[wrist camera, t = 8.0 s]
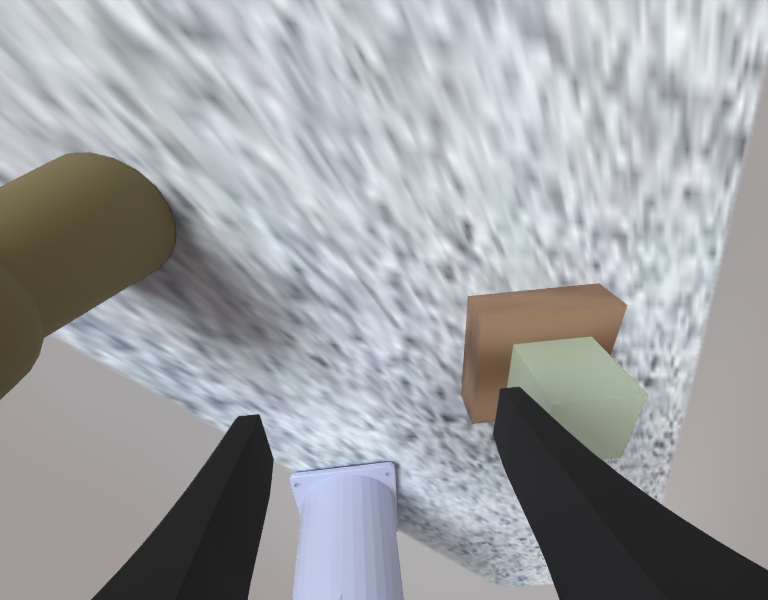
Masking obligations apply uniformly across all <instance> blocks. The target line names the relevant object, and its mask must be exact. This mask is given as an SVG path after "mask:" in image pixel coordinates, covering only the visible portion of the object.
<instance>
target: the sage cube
mask: <svg viewBox="0 0 768 600" xmlns="http://www.w3.org/2000/svg"><path fill="white" fill-rule="evenodd" d="M510 387H521V388H522V389H523V390H524V391H525V392H526V393H527V394H528V395H529V396H530V397H532V398H533V399H534V400H535V401H536V402H537V403H538V404H539V405H540V406H541V407H542V408H543V409H544V410H545V411H546V412H548V413H549V414H550V415H551V416H552V417H553V418H554V419H555V420H556V421H557V422H558V423H560V424H561V425H562V426H563V427H564V428H565V429H566V430H567V431H568V432H570V433H571V434H572V435H573V436H574V437H575V438H576V439H578V440H579V441H580V442H581V443H582V444H583V445H584V446H586V447H587V448H588V449H589V450H590V451H592V452H593V453H594V454H595V455H596V456H598V457H599V458H600V459H601V460H603V459H612V458H621V457H622V454H623V452H624V450H625V447H626V445H627V443H628V440H629V438H630V436H631V433H632V431H633V429H634V426H635V424H636V421H637V419H638V417H639V414H640V412H641V410H642V407H643V405H644V403H645V400H646V398H647V396H648V394H647V393H646V392H645V391H644V390H643V389H642V388H641V387H640V386H639V385H638V384H637V383H636V382H635V381H634V380H633V378H632V377H631V376H630V375H629V374H628V373H627V372H626V371H625V370H624V369H623V368H622V367H621V366H620V365H619V364H618V363H617V362H616V361H615V360H614V359H613V358H612V357H611V356H610V355H609V354H608V353H607V352H606V351H605V350H604V349H603V348H602V347H601V346H600V345H599V343H598V342H597V341H596V340H595V339H594V338H593V337H592V336H591V337H581V338H571V339H561V340H551V341H541V342H532V343H522V344H514V345H513V351H512V358H511V364H510V371H509V377H508V384H507V388H510Z"/></svg>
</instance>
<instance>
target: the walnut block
mask: <svg viewBox="0 0 768 600" xmlns="http://www.w3.org/2000/svg"><path fill="white" fill-rule="evenodd" d="M626 307H627V305H626V304H625V303H624V302H622V301H621V300H620V299H619V298H617V297H616V296H615V295H613V294H612V293H611V292H609V291H608V290H607V289H606V288H604V287H603V286H602V285H600V284H599V283H598V284H588V285H578V286H568V287H558V288H547V289H537V290H527V291H517V292H507V293H497V294H487V295H477V296H468V304H467V318H466V333H465V348H464V362H463V377H462V391H461V396H462V399H463V401H464V404H465V407H466V409H467V412H468V414H469V417H470V420H471V422H472V424H475V423H484V422H492V421H495V418H496V411H497V405H498V398H499V392H500V389H501V388H507V384H508V377H509V371H510V364H511V358H512V351H513V345H514V344H522V343H532V342H541V341H551V340H561V339H571V338H581V337H591V336H592V337H593V338H594V339H595V340H596V341H597V342H598V343H599V345H600V346H601V347H602V348H603V349H604V350H605V351H606V352H607V353H608V354H609V355H611V352H612V349H613V346H614V343H615V340H616V337H617V334H618V331H619V328H620V325H621V322H622V319H623V316H624V313H625V310H626Z"/></svg>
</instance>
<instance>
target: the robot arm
mask: <svg viewBox="0 0 768 600" xmlns="http://www.w3.org/2000/svg"><path fill="white" fill-rule="evenodd" d="M493 436H494V439H495V442H496V445H497V449H498V452H499V455H500V458H501V461H502V464H503V467H504V469H505V471H506V474H507V476H508V478H509V480H510V483H511V485H512V487H513V489H514V491H515V494H516V496H517V498H518V500H519V502H520V505H521V507H522V509H523V511H524V513H525V516H526V518H527V520H528V522H529V524H530V526H531V529H532V531H533V533H534V535H535V537H536V540H537V542H538V544H539V546H540V549H541V551H542V553H543V556H544V558H545V561H546V563H547V566H548V569H549V572H550V574H551V577H552V580H553V583H554V585H555V588H556V591H557V593H558V597H559V599H560V600H768V570H766V569H765V568H763V567H761V566H759V565H758V564H756V563H754V562H753V561H751V560H749V559H747V558H746V557H744V556H742V555H740V554H739V553H737V552H735V551H733V550H732V549H730V548H729V547H727V546H725V545H724V544H722V543H720V542H719V541H717V540H715V539H714V538H712V537H711V536H709V535H708V534H706V533H704V532H703V531H701V530H699V529H698V528H696V527H695V526H693V525H692V524H690V523H689V522H687V521H685V520H684V519H682V518H681V517H679V516H678V515H676V514H675V513H673V512H672V511H670V510H669V509H667V508H666V507H664V506H663V505H661V504H660V503H659V502H657V501H656V500H654V499H653V498H652V497H650V496H649V495H647V494H646V493H645V492H643V491H642V490H640V489H639V488H638V487H636V486H635V485H633V484H632V483H631V482H629V481H628V480H627V479H625V478H624V477H623V476H621V475H620V474H619V473H617V472H616V471H615V470H614V469H612V468H611V467H610V466H609V465H607V464H606V463H605V462H604V461H602V460H601V459H600V458H599V457H598V456H596V455H595V454H594V453H593V452H592V451H590V450H589V449H588V448H587V447H586V446H584V445H583V444H582V443H581V442H580V441H579V440H578V439H576V438H575V437H574V436H573V435H572V434H571V433H570V432H568V431H567V430H566V429H565V428H564V427H563V426H562V425H561V424H560V423H558V422H557V421H556V420H555V419H554V418H553V417H552V416H551V415H550V414H549V413H548V412H546V411H545V410H544V409H543V408H542V407H541V406H540V405H539V404H538V403H537V402H536V401H535V400H534V399H533V398H532V397H530V396H529V395H528V394H527V393H526V392H525V391H524V390H523V389H522V388H521V387H510V388H501V389H500V392H499V398H498V405H497V411H496V418H495V425H494V431H493ZM273 460H274V459H273V456H272V453H271V449H270V446H269V443H268V440H267V437H266V434H265V430H264V427H263V424H262V421H261V418H260V415H259V414H257V415H247V416H238V417H237V418H236V419H235V421H234V422H233V424H232V425H231V427H230V428H229V430H228V431H227V433H226V434H225V436H224V437H223V439H222V440H221V442H220V443H219V445H218V446H217V447H216V449H215V450H214V452H213V453H212V455H211V456H210V458H209V459H208V460H207V462H206V463H205V465H204V466H203V467H202V469H201V470H200V472H199V473H198V474H197V476H196V477H195V478H194V480H193V481H192V482H191V484H190V485H189V487H188V488H187V489H186V491H185V492H184V493H183V495H182V496H181V497H180V499H179V500H178V501H177V502H176V503H175V505H174V506H173V507H172V508H171V510H170V511H169V512H168V514H167V515H166V516H165V517H164V519H163V520H162V521H161V522H160V524H159V525H158V526H157V527H156V529H155V530H154V531H153V532H152V533H151V534H150V536H149V537H148V538H147V539H146V540H145V542H144V543H143V544H142V545H141V546H140V547H139V549H138V550H137V551H136V552H135V553H134V554H133V555H132V556H131V557H130V559H129V560H128V561H127V562H126V563H125V564H124V565H123V566H122V568H121V569H120V570H119V571H118V572H117V573H116V574H115V575H114V576H113V577H112V578H111V579H110V580H109V581H108V582H107V584H106V585H105V586H104V587H103V588H102V589H101V590H100V591H99V592H98V593H97V594H96V595H95V596H94V597H93V598H92V599H91V600H248V594H249V588H250V583H251V579H252V574H253V570H254V564H255V561H256V556H257V552H258V547H259V543H260V538H261V533H262V529H263V524H264V520H265V515H266V511H267V506H268V501H269V497H270V489H271V480H272V470H273ZM290 484H291V487H292V490H293V493H294V497H295V500H296V504H297V507H298V511H299V514H300V517H301V518H300V529H299V539H298V548H297V558H296V568H295V578H294V588H293V598H292V600H404V598H403V589H402V581H401V573H400V563H399V555H398V546H397V538H396V532H397V531H398V514H397V495H396V476H395V465H394V464H393V463H392V462H384V463H375V464H367V465H358V466H349V467H341V468H332V469H323V470H315V471H306V472H298V473H293V474H292V475H291V476H290Z"/></svg>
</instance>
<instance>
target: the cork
mask: <svg viewBox="0 0 768 600" xmlns="http://www.w3.org/2000/svg"><path fill="white" fill-rule="evenodd" d="M175 243H176V224H175V221H174V218H173V216H172V213H171V210H170V207H169V205H168V203H167V202H166V201H165V199H164V198H163V196H162V195H161V193H160V192H159V191H158V189H157V188H156V186H154V185H153V184H152V183H151V182H150V181H149V180H148V179H146V178H145V177H144V176H143V175H142V174H141V173H139V172H138V171H137V170H136V169H134V168H132V167H130V166H128V165H126V164H124V163H122V162H120V161H118V160H116V159H114V158H111V157H107V156H102V155H98V154H94V153H90V152H88V153H73V154H65V155H63V156H61V157H59V158H57V159H55V160H53V161H51V162H48V163H46V164H44V165H43V166H41V167H39V168H37V169H35V170H33V171H31V172H29V173H27V174H25V175H23V176H21V177H19V178H17V179H15V180H13V181H11V182H9V183H7V184H5V185H3V186H1V187H0V399H2V398H3V397H4V396H5V395H6V394H7V393H8V392H9V391H10V390H11V389H12V388H13V387H14V386H15V385H16V384H17V383H18V382H19V381H20V380H21V379H22V378H23V377H24V376H25V375H26V374H27V373H28V372H29V371H30V370H31V369H32V367H33V365H34V363H35V362H36V360H37V358H38V356H39V354H40V351H41V347H42V343H43V339H44V338H45V337H46V336H48V335H50V334H51V333H53V332H55V331H56V330H58V329H60V328H61V327H63V326H65V325H66V324H68V323H70V322H71V321H73V320H74V319H76V318H78V317H79V316H81V315H83V314H84V313H86V312H88V311H89V310H91V309H93V308H94V307H96V306H98V305H99V304H101V303H103V302H104V301H106V300H107V299H109V298H111V297H112V296H114V295H116V294H117V293H119V292H121V291H122V290H124V289H126V288H127V287H129V286H131V285H132V284H134V283H135V282H137V281H139V280H140V279H142V278H144V277H145V276H147V275H149V274H150V273H152V272H154V271H155V270H157V269H158V268H159V267H160V266H162V265H163V264H164V263H165V262H166V261H167V260H168V259H169V258H170V256H171V253H172V251H173V248H174V246H175Z"/></svg>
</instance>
